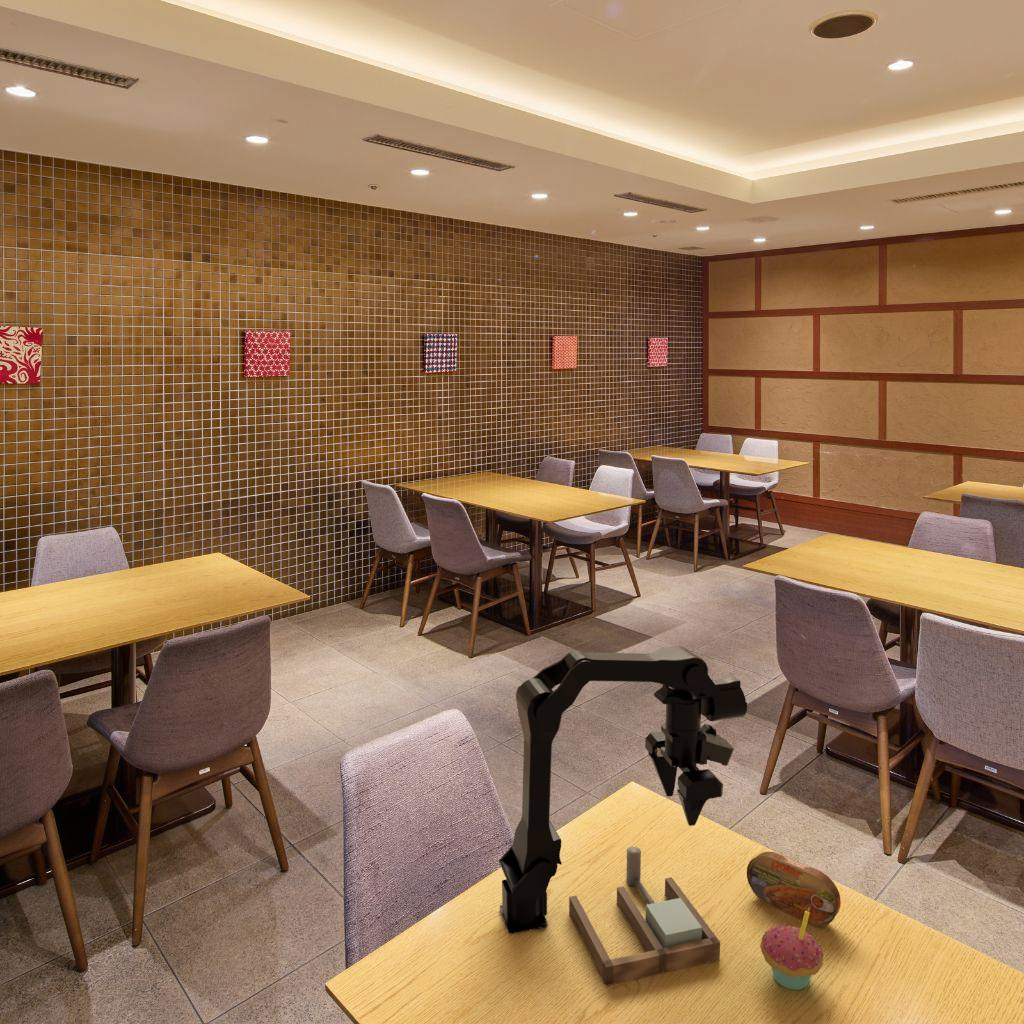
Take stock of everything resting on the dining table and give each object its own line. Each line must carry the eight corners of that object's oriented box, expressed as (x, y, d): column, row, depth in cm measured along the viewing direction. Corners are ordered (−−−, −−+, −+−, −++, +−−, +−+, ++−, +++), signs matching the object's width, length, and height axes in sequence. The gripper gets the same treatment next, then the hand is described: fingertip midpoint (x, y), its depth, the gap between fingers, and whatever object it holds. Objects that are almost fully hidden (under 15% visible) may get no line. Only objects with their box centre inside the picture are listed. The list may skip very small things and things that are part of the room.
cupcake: (820, 964, 115) (824, 892, 113) (822, 1007, 107) (827, 930, 105) (759, 951, 118) (763, 880, 116) (758, 992, 110) (761, 917, 108)
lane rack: (605, 985, 111) (605, 967, 111) (569, 913, 127) (569, 896, 126) (719, 959, 116) (720, 942, 116) (671, 893, 131) (671, 877, 131)
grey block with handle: (665, 961, 116) (666, 926, 115) (614, 880, 135) (615, 849, 134) (701, 953, 117) (702, 918, 116) (646, 874, 136) (646, 843, 135)
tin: (744, 894, 131) (746, 848, 130) (753, 885, 133) (755, 840, 132) (833, 936, 121) (837, 888, 119) (841, 926, 123) (844, 878, 122)
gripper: (755, 744, 120) (751, 835, 123) (703, 697, 138) (700, 777, 141) (689, 751, 118) (686, 844, 121) (645, 702, 136) (643, 784, 139)
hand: (680, 810), depth 130 cm, fingers open, 9 cm apart
